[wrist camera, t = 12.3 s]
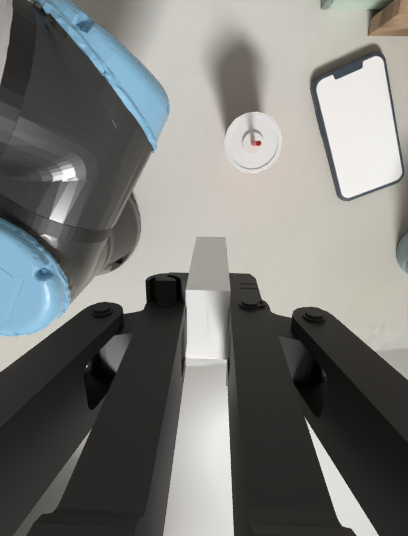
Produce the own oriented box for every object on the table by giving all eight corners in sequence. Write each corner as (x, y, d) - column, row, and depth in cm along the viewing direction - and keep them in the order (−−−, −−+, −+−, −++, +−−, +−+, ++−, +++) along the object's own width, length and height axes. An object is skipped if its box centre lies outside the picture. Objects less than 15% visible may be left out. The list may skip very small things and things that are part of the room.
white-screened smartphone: (401, 178, 44) (378, 50, 38) (407, 179, 42) (385, 46, 37) (336, 202, 45) (306, 82, 40) (340, 204, 44) (309, 80, 38)
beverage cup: (229, 173, 44) (234, 186, 31) (216, 126, 42) (217, 118, 29) (273, 160, 43) (298, 166, 30) (263, 111, 41) (285, 96, 28)
